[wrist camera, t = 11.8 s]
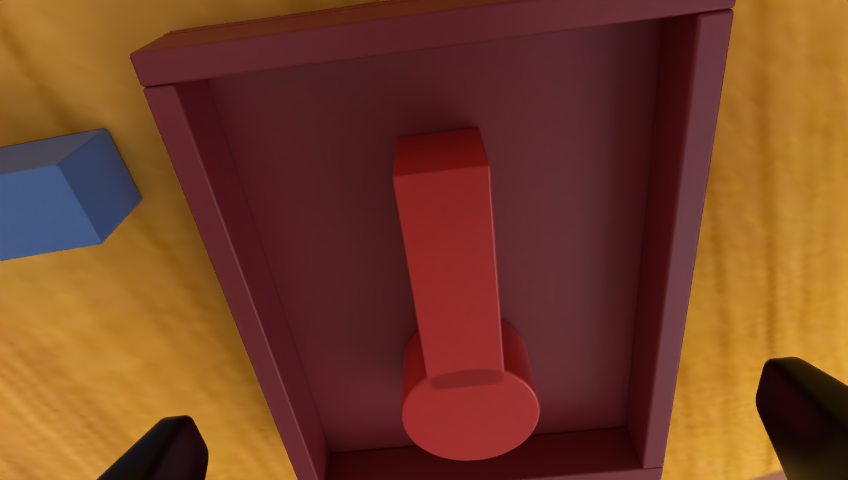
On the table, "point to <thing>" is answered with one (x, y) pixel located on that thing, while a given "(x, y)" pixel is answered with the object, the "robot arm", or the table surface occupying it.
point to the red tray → (512, 207)
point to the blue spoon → (62, 193)
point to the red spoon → (457, 305)
